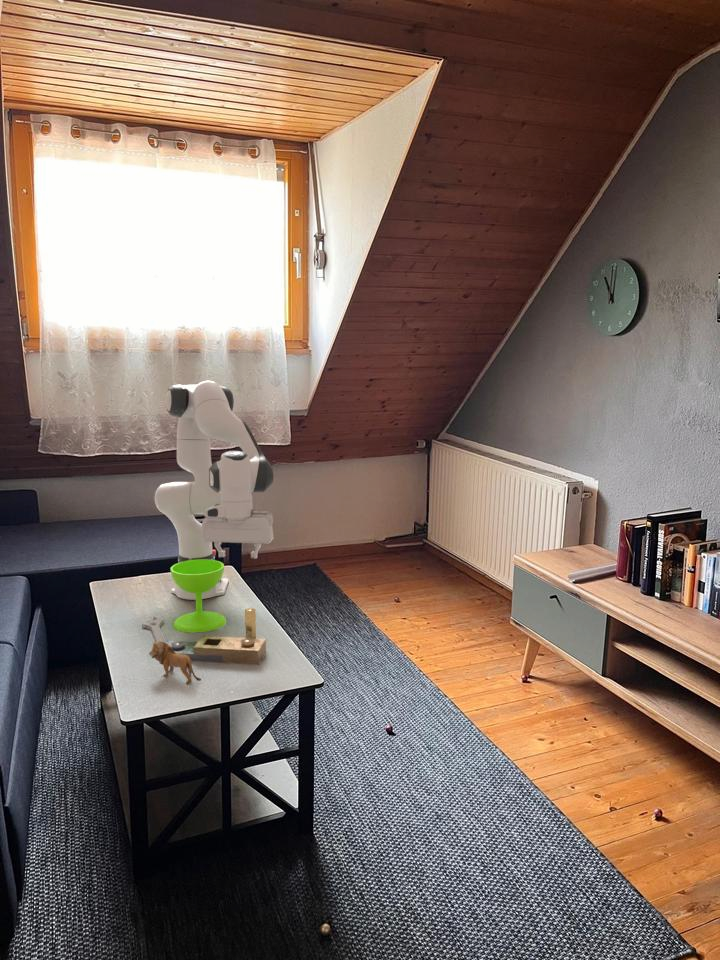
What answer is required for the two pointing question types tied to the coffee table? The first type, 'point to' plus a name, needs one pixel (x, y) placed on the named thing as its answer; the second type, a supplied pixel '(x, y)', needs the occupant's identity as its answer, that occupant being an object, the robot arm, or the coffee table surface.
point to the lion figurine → (172, 660)
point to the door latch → (222, 649)
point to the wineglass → (198, 593)
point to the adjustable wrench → (155, 628)
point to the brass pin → (250, 623)
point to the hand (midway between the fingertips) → (238, 557)
